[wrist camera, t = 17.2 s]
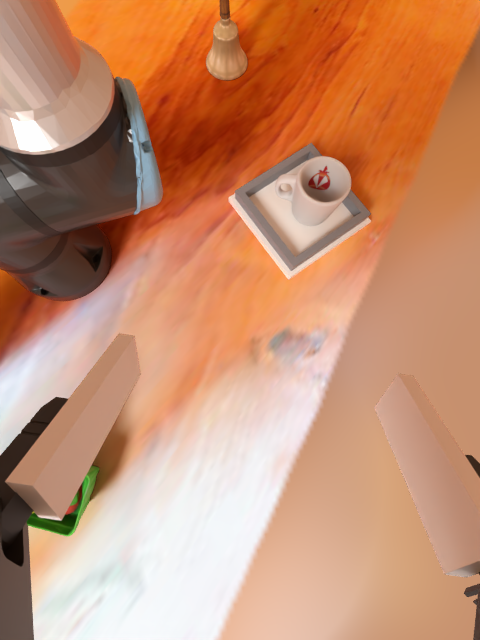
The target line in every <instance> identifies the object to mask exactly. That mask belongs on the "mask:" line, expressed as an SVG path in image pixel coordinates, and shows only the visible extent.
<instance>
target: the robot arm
mask: <svg viewBox="0 0 480 640" xmlns="http://www.w3.org/2000/svg"><path fill="white" fill-rule="evenodd" d="M162 197H163V188H162V183H161V178H160V173H159V169H158V165H157V161H156V158H155V154H154V151H153V148H152V146H151V140H150V136H149V131H148V128H147V124H146V121H145V117H144V114H143V110H142V107H141V104H140V101H139V98H138V95H137V92H136V89H135V87H134V84H133V83H132V82H131V81H130V80H129V79H126V78H124V79H122V78H120V77H116V78H115V79H114V78H113V75H112V73H111V71H110V68H109V66H108V65H107V63H106V61H105V60H104V58H103V57H102V56H101V54H100V53H99V52H98V51H97V50H96V49H94V48H93V47H92V46H90V45H89V44H87V43H86V42H84V41H82V40H80V39H78V38H76V37H74V36H73V35H72V33H71V31H70V29H69V27H68V25H67V23H66V21H65V19H64V17H63V15H62V13H61V11H60V9H59V6H58V5H57V3H56V1H55V0H0V269H2V270H4V271H6V272H7V273H8V274H10V275H11V276H12V277H13V278H14V279H15V280H17V281H18V282H19V283H20V284H21V285H22V286H23V287H25V288H26V289H27V290H29V291H30V292H32V293H34V294H36V295H38V296H41V297H45V298H48V299H51V300H56V301H69V300H74V299H78V298H81V297H83V296H85V295H87V294H89V293H90V292H92V291H93V290H94V289H96V288H97V287H98V286H99V285H100V284H101V282H102V281H103V280H104V278H105V277H106V275H107V273H108V271H109V268H110V264H111V258H112V253H111V246H110V243H109V240H108V238H107V236H106V235H105V233H104V232H103V231H102V230H101V229H100V228H99V227H98V226H97V225H96V224H100V223H104V222H107V221H111V220H115V219H118V218H122V217H126V216H129V215H133V214H134V215H136V214H138V213H139V212H140V211H142V210H145V209H148V208H150V207H153V206H156V205H157V204H159V203H160V201H161V199H162ZM140 374H141V373H140V367H139V361H138V354H137V348H136V342H135V336H133V335H126V334H118V336H117V337H116V338H115V340H114V341H113V342H112V343H111V345H110V346H109V347H108V349H107V350H106V351H105V352H104V354H103V355H102V356H101V358H100V359H99V360H98V362H97V363H96V364H95V365H94V367H93V368H92V369H91V371H90V372H89V373H88V375H87V376H86V377H85V378H84V380H83V381H82V382H81V384H80V385H79V386H78V387H77V389H76V390H75V391H74V393H73V394H72V395H71V397H70V398H69V399H66V398H59V397H55V398H54V399H53V400H51V401H50V402H48V403H47V404H46V405H44V406H43V407H41V409H40V410H39V411H38V412H37V413H36V414H35V416H34V417H33V418H32V419H31V421H30V423H28V424H27V425H26V426H25V427H24V429H23V430H22V431H21V433H20V434H18V436H17V437H16V438H15V439H14V440H13V441H12V443H11V444H10V445H9V446H8V447H7V449H6V450H5V451H4V452H3V453H2V454H1V456H0V640H34V634H33V614H32V595H31V576H30V556H29V537H28V525H27V520H28V519H29V517H30V516H31V514H32V512H33V511H34V513H35V514H36V515H37V516H38V517H40V518H47V519H54V520H61V521H62V519H63V517H64V515H65V513H66V512H67V510H68V508H69V506H70V504H71V502H72V500H73V499H74V497H75V495H76V493H77V491H78V489H79V487H80V486H81V484H82V482H83V480H84V478H85V476H86V475H87V473H88V471H89V469H90V467H91V465H92V463H93V462H94V460H95V458H96V456H97V454H98V452H99V450H100V449H101V447H102V445H103V443H104V441H105V439H106V437H107V436H108V434H109V432H110V430H111V428H112V426H113V424H114V423H115V421H116V419H117V417H118V415H119V413H120V412H121V410H122V408H123V406H124V404H125V402H126V400H127V399H128V397H129V395H130V393H131V391H132V389H133V387H134V386H135V384H136V382H137V380H138V378H139V376H140ZM375 410H376V413H377V415H378V418H379V420H380V422H381V425H382V427H383V429H384V432H385V434H386V437H387V439H388V441H389V444H390V446H391V448H392V451H393V453H394V455H395V458H396V460H397V463H398V465H399V467H400V470H401V472H402V475H403V477H404V479H405V482H406V484H407V487H408V489H409V491H410V494H411V496H412V498H413V501H414V503H415V506H416V508H417V510H418V513H419V515H420V518H421V520H422V522H423V524H424V527H425V529H426V532H427V534H428V536H429V539H430V541H431V544H432V546H433V548H434V551H435V553H436V556H437V558H438V560H439V563H440V565H441V568H442V570H443V572H444V574H447V575H453V576H461V577H468V576H472V575H475V574H478V573H479V574H480V463H479V462H478V461H477V460H476V459H474V457H473V456H471V455H464V453H463V452H462V450H461V449H460V447H459V445H458V444H457V442H456V441H455V439H454V438H453V436H452V435H451V433H450V432H449V430H448V428H447V427H446V425H445V424H444V422H443V421H442V419H441V418H440V416H439V414H438V413H437V412H436V410H435V408H434V407H433V405H432V404H431V402H430V401H429V399H428V398H427V396H426V394H425V393H424V391H423V390H422V388H421V387H420V385H419V384H418V382H417V381H416V379H415V378H414V376H412V375H405V374H397V376H396V377H395V379H394V380H393V381H392V383H391V384H390V386H389V387H388V389H387V390H386V391H385V393H384V394H383V396H382V397H381V399H380V400H379V402H378V403H377V404H376V406H375ZM464 594H465V595H466V596H467V597H469V596H473V595H477V594H478V599H476V600H474V601H473V602H474V603H475V604H476V605H477V609H476V619H475V630H474V640H480V584H477V585H474V586H471V587H468V588H466V590H465V592H464Z"/></svg>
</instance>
